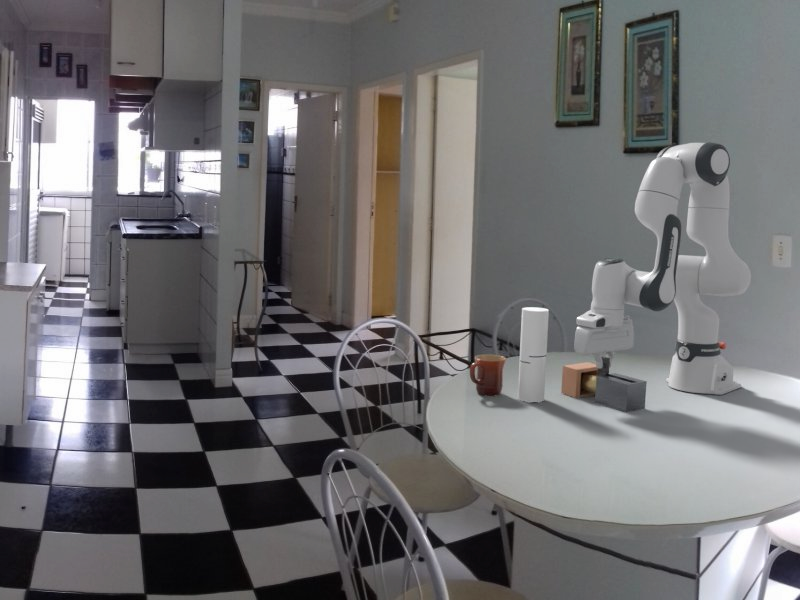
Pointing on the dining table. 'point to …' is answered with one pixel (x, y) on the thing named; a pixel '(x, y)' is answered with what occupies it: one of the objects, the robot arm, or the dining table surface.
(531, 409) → the dining table surface
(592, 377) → the tube
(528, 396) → the cylindrical container
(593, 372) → the peach pocketed block
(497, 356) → the mug
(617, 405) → the sleeve
